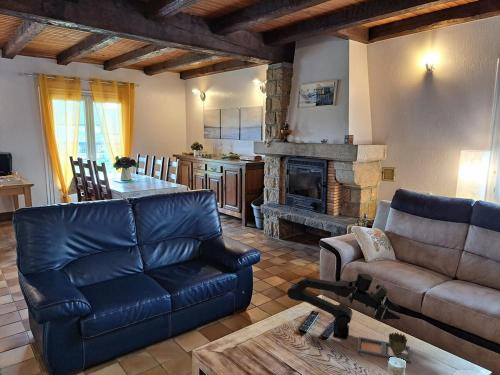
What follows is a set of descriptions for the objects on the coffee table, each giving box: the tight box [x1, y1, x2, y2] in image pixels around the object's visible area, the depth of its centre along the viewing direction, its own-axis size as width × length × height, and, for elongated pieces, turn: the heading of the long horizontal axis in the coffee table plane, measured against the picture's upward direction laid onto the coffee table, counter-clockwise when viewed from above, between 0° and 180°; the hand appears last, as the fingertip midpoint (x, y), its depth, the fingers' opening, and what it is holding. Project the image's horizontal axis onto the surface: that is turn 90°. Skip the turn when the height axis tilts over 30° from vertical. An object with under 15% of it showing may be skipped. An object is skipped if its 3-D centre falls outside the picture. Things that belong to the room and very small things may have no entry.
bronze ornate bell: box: [388, 332, 408, 356], centre depth 156 cm, size 8×7×8 cm
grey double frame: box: [356, 336, 412, 364], centre depth 158 cm, size 22×11×1 cm, turn 69°
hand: (399, 313), depth 158 cm, fingers open, 9 cm apart
